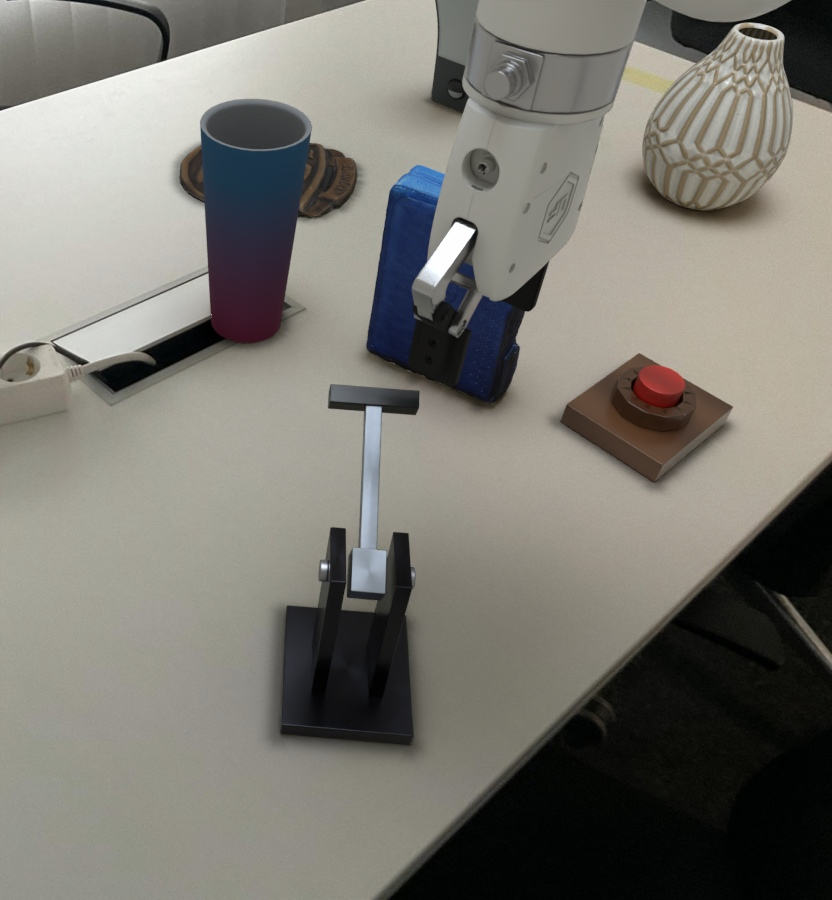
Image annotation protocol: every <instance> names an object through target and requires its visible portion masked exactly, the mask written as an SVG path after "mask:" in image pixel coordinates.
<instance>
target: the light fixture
mask: <svg viewBox="0 0 832 900" xmlns="http://www.w3.org/2000/svg"><path fill="white" fill-rule="evenodd" d="M434 2H435V12H436V21H437V22H436V23H437V38H436V39H437V42H436V51H435V52H436V53H435V62H434V63H435V64H434V70H433V79H432V85H431V86H432V87H431V95H430V98H431V100H433V101H434V102H436V103H439V104H441V105H443V106H445V107H448V108H449V109H452V110H455V111H458V112H461V113H463V112H464V109H465V106H466V103H467V101H468V99H469V96H468V95H467V94H466V92H465V91H464V88H463V86H462V80H463V75H464V70H465V65H466V60H467V55H468V50H469V45H470V40H471V36H472V31H473V26H474V21H475V16H476V12H477V7H478V2H479V0H434Z"/></svg>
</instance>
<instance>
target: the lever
mask: <svg viewBox="0 0 832 900" xmlns="http://www.w3.org/2000/svg"><path fill="white" fill-rule="evenodd" d="M420 393H421V392H420V390H415V389H402V388H401V389H400V388H389V387H378V386H377V387H375V386H362V385H349V384H334V383H330V384H329V388H328V398H327V400H328V401H327V409H328V410H329V409H330V410H339V411H340V410H341V411H355V412H363V424H362V450H361V471H360V472H361V475H360V494H359V495H360V498H359V500H360V501H359V521H358V522H359V524H358V543H357V545H358V547H354V546H353V547H352V548H351V550H350V551H349V553H348V556H347V573H346V598H347V599H354V600H355V599H356V600H368V601H377V600H378V601H380V600H381V599H382V598H383V597H384V595H385V594H386V574H387V556H388V550H387V549H378V539H379V538H378V537H379V536H378V535H379V534H378V533H379V509H380V508H379V507H380V482H381V481H380V479H381V478H380V476H381V454H382V453H381V449H382V425H383V423H382V422H383V414H392V415H393V414H394V415H407V416H416V415H417V413H418V412H419V409H420V395H421V394H420Z"/></svg>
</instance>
